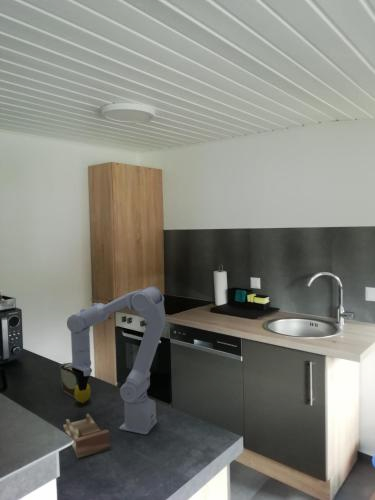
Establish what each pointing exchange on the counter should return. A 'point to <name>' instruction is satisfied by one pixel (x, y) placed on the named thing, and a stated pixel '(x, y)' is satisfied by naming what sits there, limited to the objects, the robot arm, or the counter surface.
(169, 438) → the counter surface
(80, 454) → the track
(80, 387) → the robot arm
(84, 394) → the lemon
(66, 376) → the food container
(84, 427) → the block
